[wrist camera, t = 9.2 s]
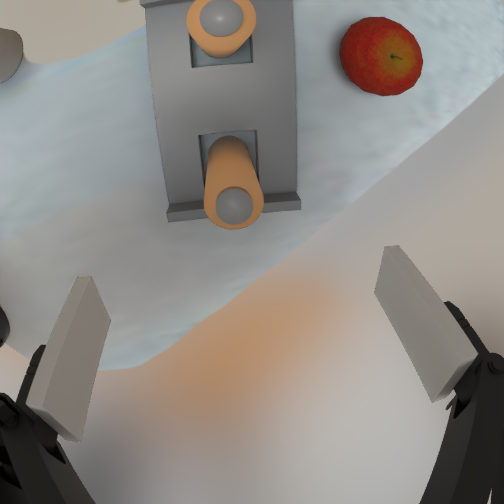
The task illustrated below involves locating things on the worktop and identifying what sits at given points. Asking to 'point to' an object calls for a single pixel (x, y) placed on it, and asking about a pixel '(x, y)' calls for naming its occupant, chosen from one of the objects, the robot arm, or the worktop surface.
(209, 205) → the peg
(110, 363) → the worktop surface
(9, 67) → the coffee cup
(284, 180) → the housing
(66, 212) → the worktop surface
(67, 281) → the worktop surface
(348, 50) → the apple
